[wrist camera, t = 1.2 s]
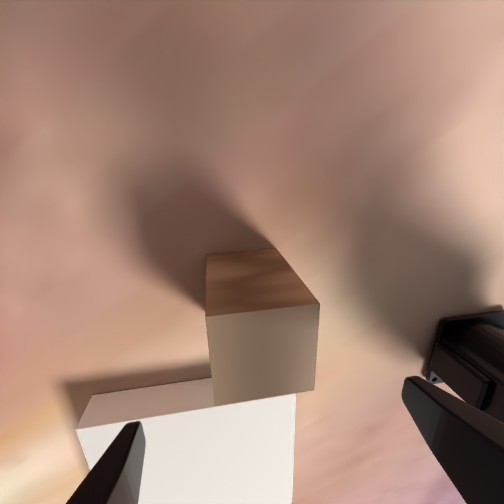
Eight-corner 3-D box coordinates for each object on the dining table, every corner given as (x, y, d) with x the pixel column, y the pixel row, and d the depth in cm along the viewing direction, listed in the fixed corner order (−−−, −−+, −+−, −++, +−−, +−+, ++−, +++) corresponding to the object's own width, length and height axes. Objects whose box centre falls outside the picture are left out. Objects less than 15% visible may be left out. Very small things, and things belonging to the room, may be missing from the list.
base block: (285, 366, 20) (295, 393, 18) (283, 475, 24) (291, 508, 22) (92, 395, 18) (75, 429, 16) (127, 508, 22) (118, 548, 20)
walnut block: (276, 248, 17) (319, 303, 10) (276, 308, 18) (314, 390, 12) (206, 254, 16) (205, 316, 10) (212, 316, 18) (214, 406, 11)
